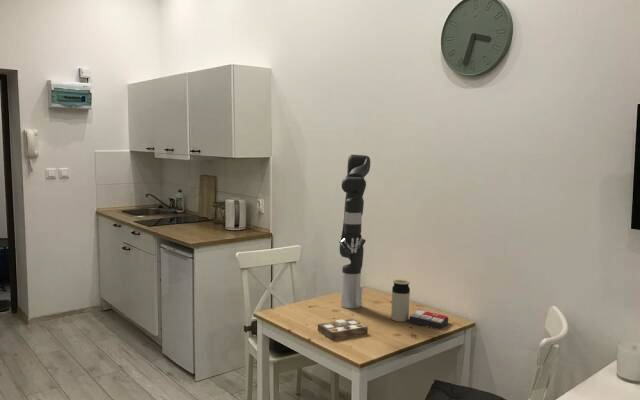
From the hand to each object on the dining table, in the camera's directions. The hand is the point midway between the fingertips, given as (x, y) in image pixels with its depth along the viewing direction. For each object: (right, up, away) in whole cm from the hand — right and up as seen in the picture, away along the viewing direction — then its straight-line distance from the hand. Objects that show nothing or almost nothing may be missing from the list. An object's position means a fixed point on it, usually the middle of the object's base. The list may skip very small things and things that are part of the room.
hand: (352, 260), depth 238 cm
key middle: (-5, -27, -8) cm, 29 cm away
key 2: (0, -29, -5) cm, 29 cm away
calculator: (+35, -30, +6) cm, 46 cm away
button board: (-5, -30, -10) cm, 31 cm away
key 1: (-11, -29, -11) cm, 33 cm away
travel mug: (+23, -29, +10) cm, 38 cm away
